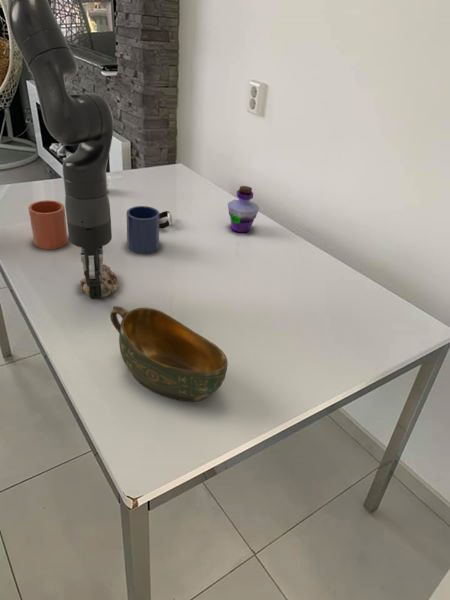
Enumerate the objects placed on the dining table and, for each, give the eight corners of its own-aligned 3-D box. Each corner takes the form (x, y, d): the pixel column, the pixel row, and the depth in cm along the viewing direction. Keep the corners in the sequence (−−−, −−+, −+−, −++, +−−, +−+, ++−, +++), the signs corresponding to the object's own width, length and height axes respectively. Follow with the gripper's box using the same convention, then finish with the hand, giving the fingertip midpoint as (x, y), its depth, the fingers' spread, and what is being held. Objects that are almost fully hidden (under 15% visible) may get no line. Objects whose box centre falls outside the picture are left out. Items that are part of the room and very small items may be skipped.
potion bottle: (222, 232, 122) (226, 190, 115) (227, 219, 129) (232, 179, 122) (253, 238, 121) (260, 195, 114) (257, 224, 128) (263, 184, 121)
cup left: (30, 248, 105) (24, 212, 100) (38, 233, 112) (33, 199, 107) (64, 250, 106) (59, 214, 101) (70, 235, 113) (66, 201, 107)
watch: (170, 231, 119) (170, 219, 117) (152, 229, 119) (152, 217, 117) (173, 219, 126) (174, 207, 124) (156, 217, 126) (157, 205, 124)
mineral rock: (116, 292, 90) (76, 279, 89) (111, 309, 92) (72, 296, 91) (126, 266, 99) (90, 254, 98) (121, 282, 102) (86, 270, 100)
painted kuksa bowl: (172, 331, 86) (174, 286, 80) (230, 401, 73) (238, 354, 67) (107, 351, 79) (104, 305, 74) (158, 433, 66) (159, 384, 60)
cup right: (126, 253, 108) (125, 218, 103) (129, 238, 114) (128, 205, 109) (158, 254, 109) (158, 220, 104) (159, 239, 115) (160, 207, 110)
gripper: (68, 202, 85) (77, 280, 94) (64, 232, 74) (74, 318, 84) (109, 201, 86) (114, 279, 96) (111, 231, 76) (116, 315, 85)
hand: (96, 297), depth 90 cm, fingers closed
